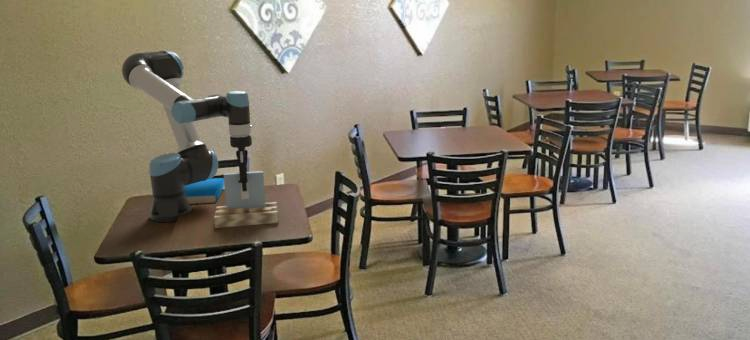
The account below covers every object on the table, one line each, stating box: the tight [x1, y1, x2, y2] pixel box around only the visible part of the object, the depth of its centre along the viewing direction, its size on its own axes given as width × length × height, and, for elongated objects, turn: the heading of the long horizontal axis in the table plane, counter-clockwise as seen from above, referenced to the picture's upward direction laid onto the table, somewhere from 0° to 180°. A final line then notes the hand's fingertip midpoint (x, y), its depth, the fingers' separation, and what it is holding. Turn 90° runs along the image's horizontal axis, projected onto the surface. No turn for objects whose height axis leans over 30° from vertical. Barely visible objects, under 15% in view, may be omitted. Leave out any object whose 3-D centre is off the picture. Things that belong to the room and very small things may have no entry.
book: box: [184, 177, 225, 205], centre depth 257 cm, size 17×4×25 cm
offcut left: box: [217, 208, 244, 216], centre depth 216 cm, size 9×2×5 cm, turn 100°
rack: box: [213, 201, 279, 229], centre depth 220 cm, size 22×12×6 cm, turn 101°
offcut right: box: [249, 207, 272, 213], centre depth 218 cm, size 8×2×4 cm, turn 101°
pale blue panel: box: [223, 170, 266, 209], centre depth 221 cm, size 14×2×16 cm, turn 101°
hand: (245, 197), depth 221 cm, fingers closed on pale blue panel, 2 cm apart
